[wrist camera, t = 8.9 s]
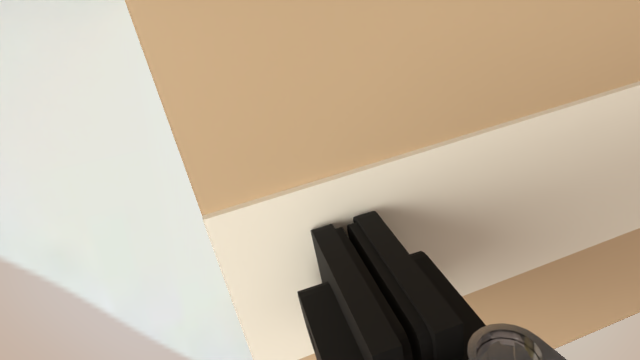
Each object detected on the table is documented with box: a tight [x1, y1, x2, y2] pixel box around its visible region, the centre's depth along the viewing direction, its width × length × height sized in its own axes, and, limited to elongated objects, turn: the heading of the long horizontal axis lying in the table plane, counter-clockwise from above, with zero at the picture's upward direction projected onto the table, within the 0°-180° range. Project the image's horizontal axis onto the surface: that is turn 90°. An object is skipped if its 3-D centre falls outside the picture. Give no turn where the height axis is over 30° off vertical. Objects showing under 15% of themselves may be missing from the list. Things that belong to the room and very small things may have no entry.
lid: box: [125, 0, 640, 360], centre depth 12 cm, size 14×14×1 cm
